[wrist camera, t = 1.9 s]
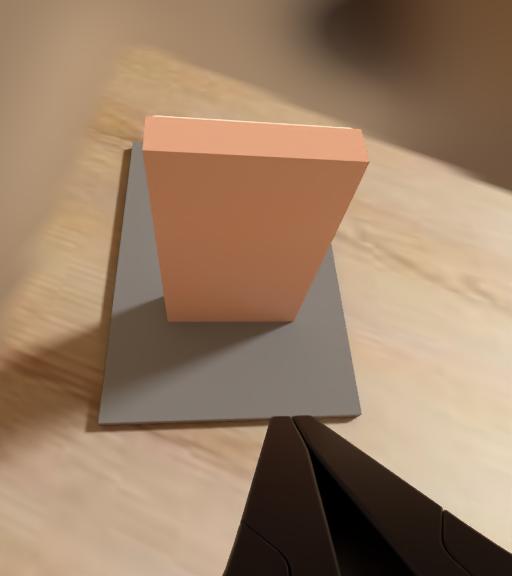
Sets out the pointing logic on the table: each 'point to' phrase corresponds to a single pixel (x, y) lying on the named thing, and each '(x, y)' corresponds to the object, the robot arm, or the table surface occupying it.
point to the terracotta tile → (245, 212)
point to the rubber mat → (216, 346)
